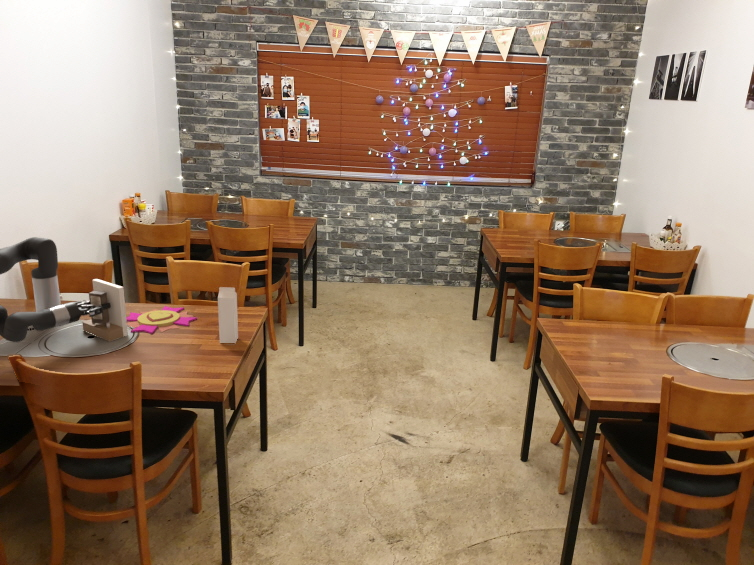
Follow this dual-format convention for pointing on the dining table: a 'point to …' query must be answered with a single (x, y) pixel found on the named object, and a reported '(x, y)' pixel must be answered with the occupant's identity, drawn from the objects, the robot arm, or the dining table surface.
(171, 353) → the dining table surface
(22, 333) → the robot arm
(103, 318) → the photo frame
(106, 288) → the wall panel
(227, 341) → the milk
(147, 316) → the wall ornament
